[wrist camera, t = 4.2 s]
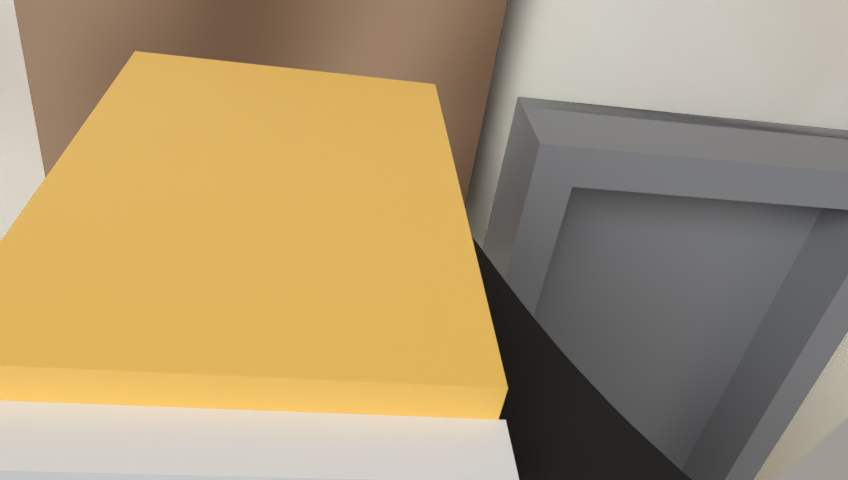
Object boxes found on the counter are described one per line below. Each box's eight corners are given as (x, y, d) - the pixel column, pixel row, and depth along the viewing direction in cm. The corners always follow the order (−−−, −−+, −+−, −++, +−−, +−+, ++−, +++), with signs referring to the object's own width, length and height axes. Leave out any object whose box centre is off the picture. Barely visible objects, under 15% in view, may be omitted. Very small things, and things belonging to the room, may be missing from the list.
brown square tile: (540, -222, 14) (552, -219, 13) (454, 213, 19) (459, 233, 18) (-19, -317, 12) (-44, -322, 11) (64, 183, 18) (50, 204, 17)
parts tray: (879, 133, 19) (943, 180, 17) (676, 500, 28) (702, 560, 26) (518, 96, 18) (540, 143, 15) (425, 496, 26) (431, 559, 24)
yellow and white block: (439, 84, 9) (530, 451, 4) (389, 375, 11) (413, 782, 7) (130, 50, 8) (-143, 430, 4) (157, 364, 11) (21, 798, 6)
